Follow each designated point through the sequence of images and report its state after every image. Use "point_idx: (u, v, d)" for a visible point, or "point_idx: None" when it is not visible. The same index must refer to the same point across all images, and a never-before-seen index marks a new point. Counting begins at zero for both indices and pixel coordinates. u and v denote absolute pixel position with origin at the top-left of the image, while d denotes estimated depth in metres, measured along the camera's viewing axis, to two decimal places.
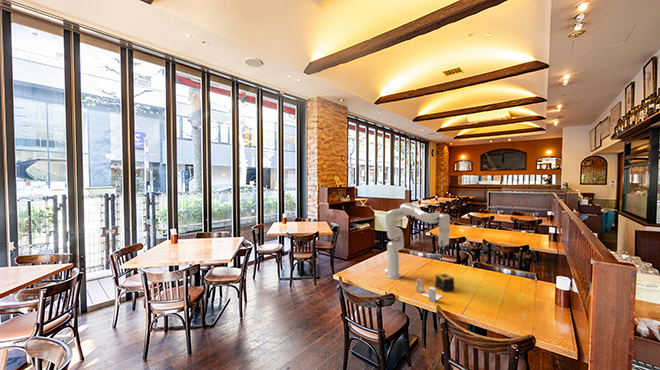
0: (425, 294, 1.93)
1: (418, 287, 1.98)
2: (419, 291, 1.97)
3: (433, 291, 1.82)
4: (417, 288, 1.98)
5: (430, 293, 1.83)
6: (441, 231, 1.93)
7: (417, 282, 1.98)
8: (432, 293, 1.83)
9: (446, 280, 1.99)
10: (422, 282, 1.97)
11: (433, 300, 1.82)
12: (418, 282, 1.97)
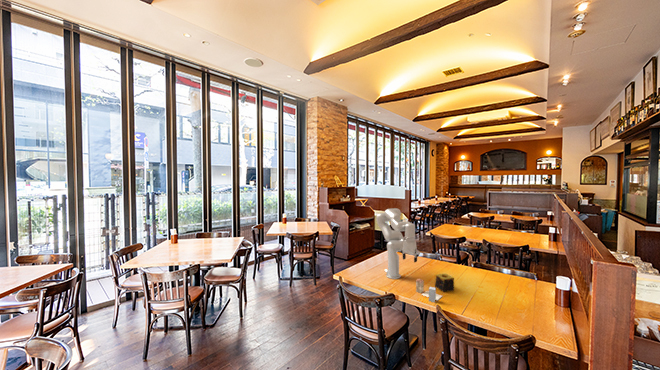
0: (425, 294, 1.93)
1: (418, 287, 1.98)
2: (419, 291, 1.97)
3: (433, 291, 1.82)
4: (417, 288, 1.98)
5: (430, 293, 1.83)
6: (413, 240, 2.01)
7: (417, 282, 1.98)
8: (432, 293, 1.83)
9: (446, 280, 1.99)
10: (422, 282, 1.97)
11: (433, 300, 1.82)
12: (418, 282, 1.97)
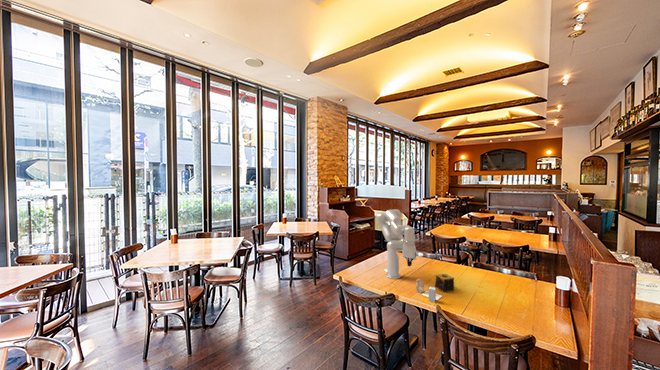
0: (425, 294, 1.93)
1: (418, 287, 1.98)
2: (419, 291, 1.97)
3: (433, 291, 1.82)
4: (417, 288, 1.98)
5: (430, 293, 1.83)
6: (413, 244, 2.01)
7: (417, 282, 1.98)
8: (432, 293, 1.83)
9: (446, 280, 1.99)
10: (422, 282, 1.97)
11: (433, 300, 1.82)
12: (418, 282, 1.97)
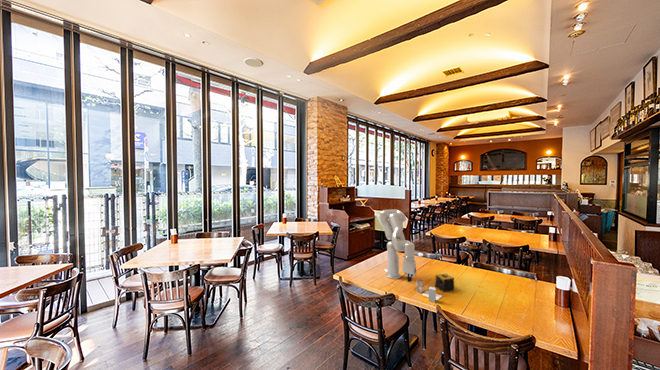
0: (425, 294, 1.93)
1: (418, 287, 1.98)
2: (419, 291, 1.97)
3: (433, 291, 1.82)
4: (417, 288, 1.98)
5: (430, 293, 1.83)
6: (413, 260, 2.01)
7: (417, 282, 1.98)
8: (432, 293, 1.83)
9: (446, 280, 1.99)
10: (422, 282, 1.97)
11: (433, 300, 1.82)
12: (418, 282, 1.97)
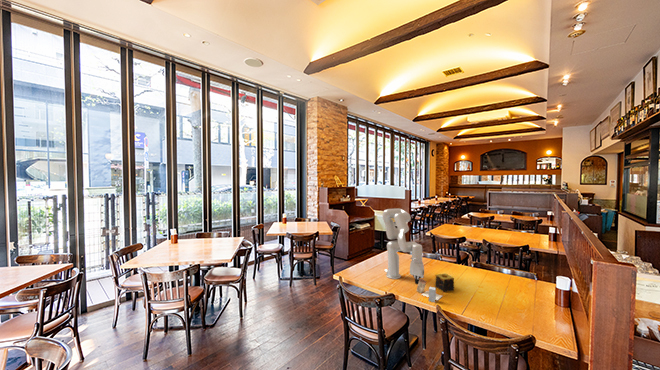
0: (425, 294, 1.93)
1: (419, 287, 1.97)
2: (419, 291, 1.97)
3: (433, 291, 1.82)
4: (418, 287, 1.98)
5: (430, 293, 1.83)
6: (421, 262, 1.97)
7: (419, 282, 1.97)
8: (432, 293, 1.83)
9: (446, 280, 1.99)
10: (424, 283, 1.96)
11: (433, 300, 1.82)
12: (420, 282, 1.96)
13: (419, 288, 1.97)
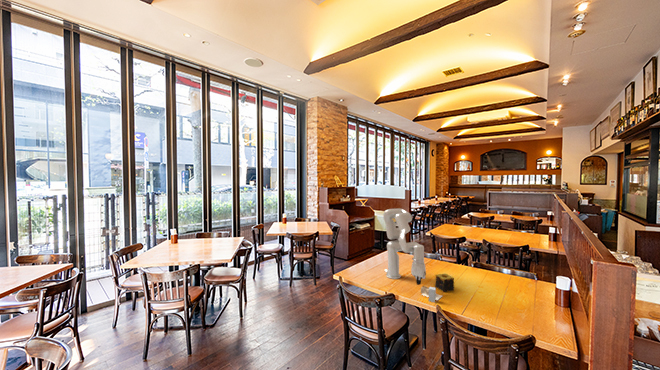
0: (425, 294, 1.93)
1: (426, 291, 1.93)
2: (422, 291, 1.95)
3: (433, 291, 1.82)
4: (424, 290, 1.94)
5: (430, 293, 1.83)
6: (422, 262, 1.96)
7: None
8: (432, 293, 1.83)
9: (446, 280, 1.99)
10: None
11: (433, 300, 1.82)
12: None
13: (424, 291, 1.94)
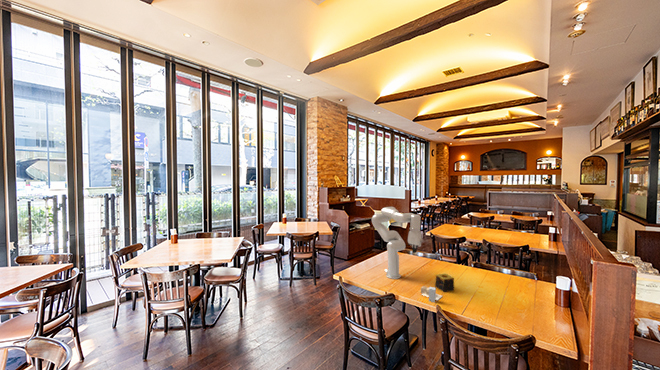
0: (425, 294, 1.93)
1: (426, 291, 1.93)
2: (422, 291, 1.95)
3: (433, 291, 1.82)
4: (424, 290, 1.94)
5: (430, 293, 1.83)
6: (418, 231, 2.05)
7: None
8: (432, 293, 1.83)
9: (446, 280, 1.99)
10: None
11: (433, 300, 1.82)
12: None
13: (424, 291, 1.94)
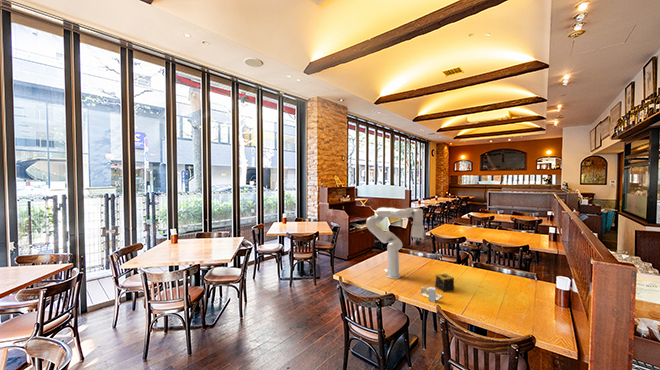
0: (425, 294, 1.93)
1: (426, 291, 1.93)
2: (422, 291, 1.95)
3: (433, 291, 1.82)
4: (424, 290, 1.94)
5: (430, 293, 1.83)
6: (421, 224, 2.12)
7: None
8: (432, 293, 1.83)
9: (446, 280, 1.99)
10: None
11: (433, 300, 1.82)
12: None
13: (424, 291, 1.94)
